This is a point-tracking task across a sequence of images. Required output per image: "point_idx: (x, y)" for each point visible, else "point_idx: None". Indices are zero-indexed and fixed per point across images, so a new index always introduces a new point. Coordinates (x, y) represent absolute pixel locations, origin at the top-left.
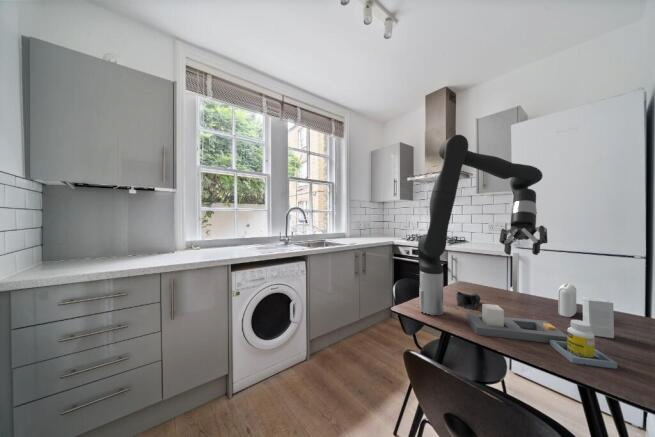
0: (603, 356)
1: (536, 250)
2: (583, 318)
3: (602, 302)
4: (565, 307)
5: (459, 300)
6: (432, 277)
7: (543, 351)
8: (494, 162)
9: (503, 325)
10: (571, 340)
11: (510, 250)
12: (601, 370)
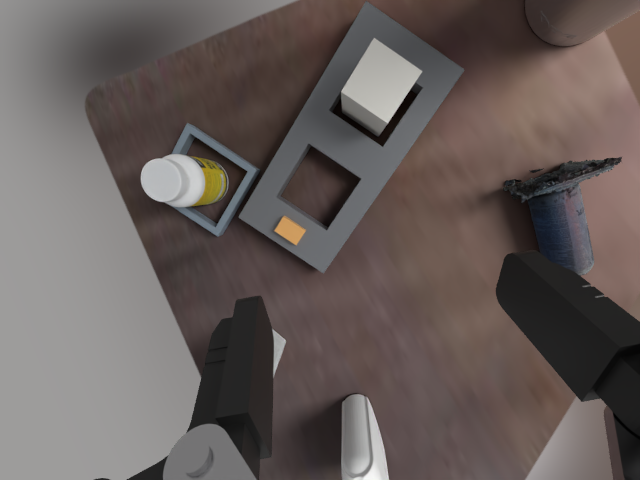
0: None
1: (226, 335)
2: (276, 355)
3: None
4: (351, 415)
5: (576, 164)
6: None
7: (243, 116)
8: None
9: (342, 106)
10: (195, 157)
11: (530, 330)
12: (162, 154)
